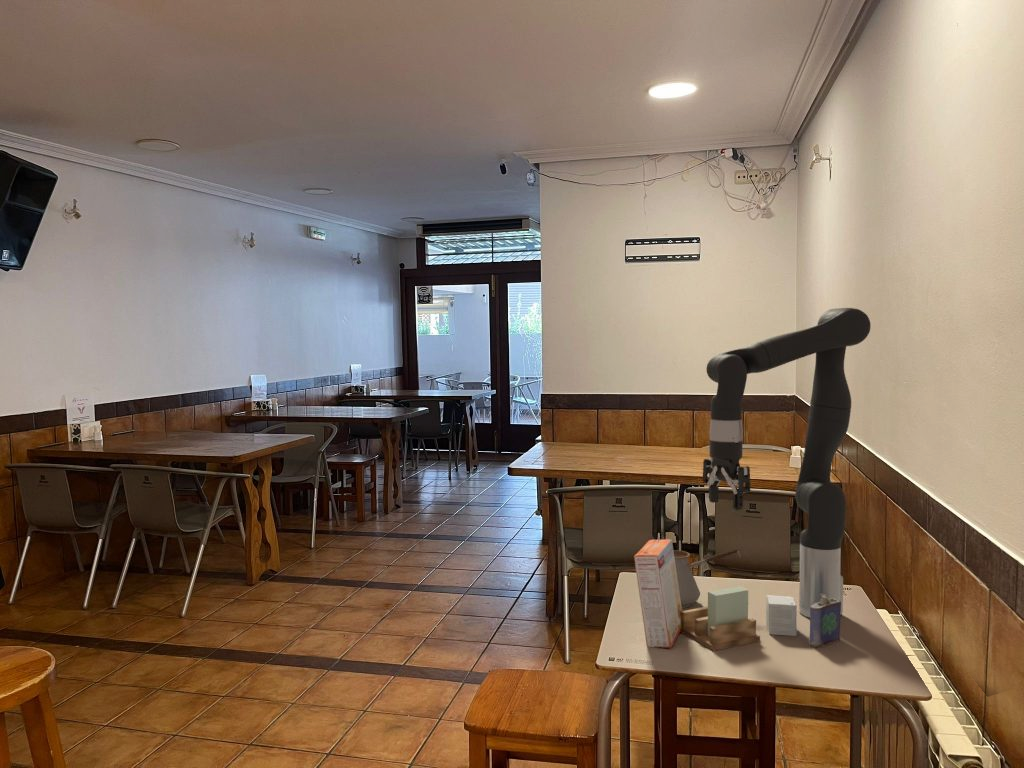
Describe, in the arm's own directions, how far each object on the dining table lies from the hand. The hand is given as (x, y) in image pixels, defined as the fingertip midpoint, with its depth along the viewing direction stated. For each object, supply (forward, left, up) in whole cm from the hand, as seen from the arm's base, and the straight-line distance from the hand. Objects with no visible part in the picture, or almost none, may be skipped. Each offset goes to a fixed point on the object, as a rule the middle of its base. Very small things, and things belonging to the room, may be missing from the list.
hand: (725, 505), depth 173 cm
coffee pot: (-1, -12, -28) cm, 31 cm away
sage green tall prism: (+6, +9, -27) cm, 29 cm away
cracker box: (+18, +2, -28) cm, 34 cm away
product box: (-8, +10, -28) cm, 31 cm away
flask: (-12, +19, -28) cm, 36 cm away
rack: (+7, +6, -28) cm, 30 cm away
